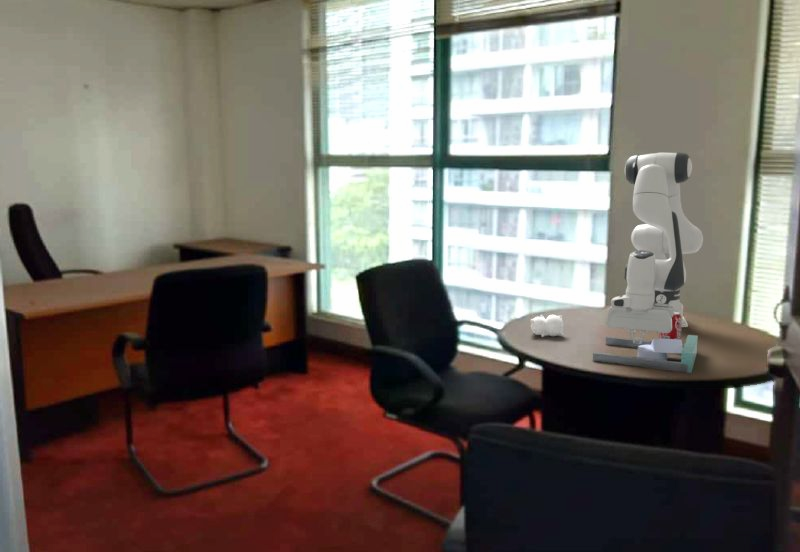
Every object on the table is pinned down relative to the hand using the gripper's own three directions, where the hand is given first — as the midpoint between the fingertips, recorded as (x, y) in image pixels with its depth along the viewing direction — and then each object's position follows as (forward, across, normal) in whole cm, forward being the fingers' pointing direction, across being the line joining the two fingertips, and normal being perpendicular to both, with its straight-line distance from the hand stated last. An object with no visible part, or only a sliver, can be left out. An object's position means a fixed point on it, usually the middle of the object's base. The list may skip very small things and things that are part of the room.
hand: (637, 343), depth 218 cm
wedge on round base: (+5, -7, 0) cm, 8 cm away
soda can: (+4, -8, -18) cm, 20 cm away
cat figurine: (+5, +34, -14) cm, 37 cm away
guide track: (+4, -2, 0) cm, 5 cm away
